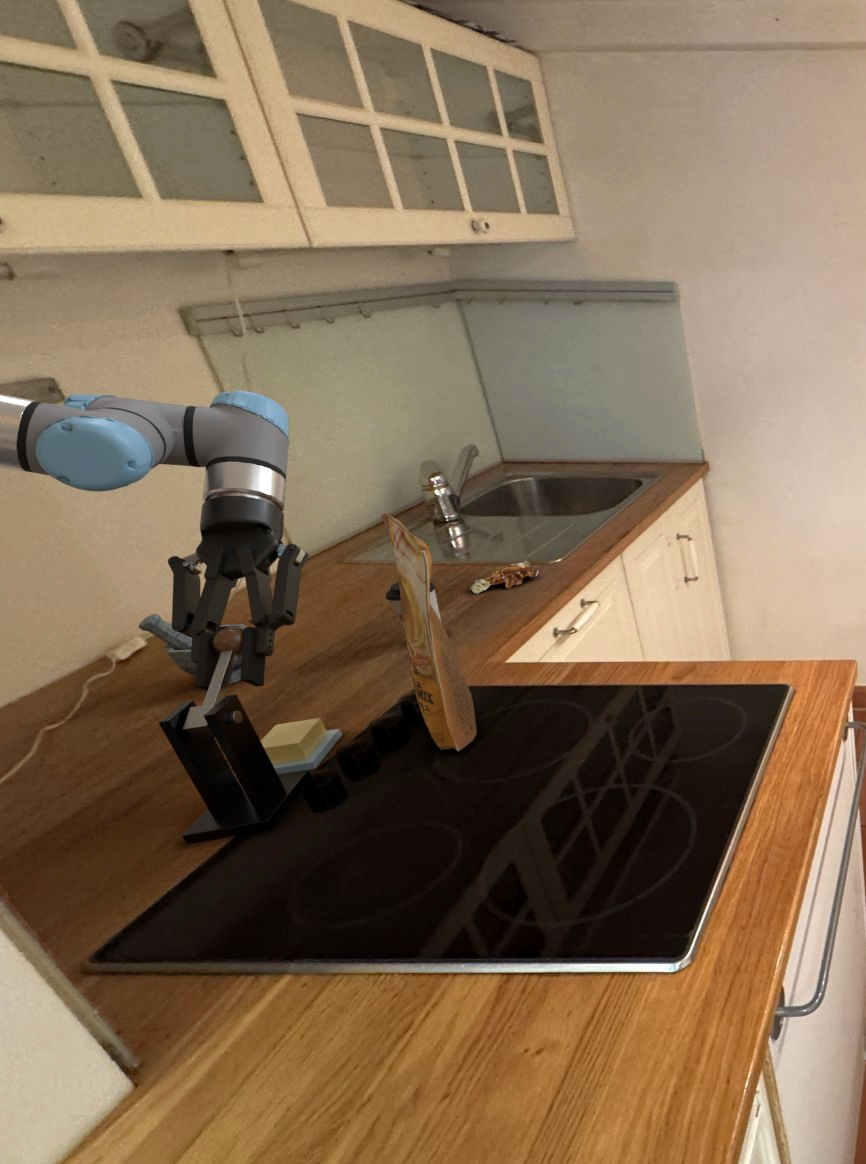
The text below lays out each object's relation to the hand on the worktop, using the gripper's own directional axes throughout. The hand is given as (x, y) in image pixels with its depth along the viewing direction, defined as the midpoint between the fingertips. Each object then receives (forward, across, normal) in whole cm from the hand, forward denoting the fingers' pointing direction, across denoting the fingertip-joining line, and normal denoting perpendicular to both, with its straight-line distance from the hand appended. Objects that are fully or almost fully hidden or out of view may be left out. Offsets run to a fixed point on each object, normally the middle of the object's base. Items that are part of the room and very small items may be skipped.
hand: (230, 685), depth 88 cm
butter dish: (+6, 0, -13) cm, 14 cm away
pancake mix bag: (+4, -18, -15) cm, 24 cm away
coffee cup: (-18, -5, -37) cm, 42 cm away
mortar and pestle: (-15, +22, -34) cm, 43 cm away
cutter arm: (0, 0, 0) cm, 0 cm away
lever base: (+14, 0, -5) cm, 15 cm away
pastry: (-34, -12, -54) cm, 65 cm away
